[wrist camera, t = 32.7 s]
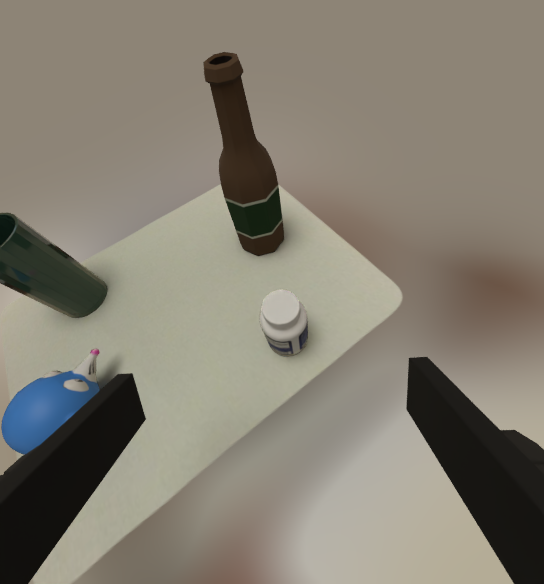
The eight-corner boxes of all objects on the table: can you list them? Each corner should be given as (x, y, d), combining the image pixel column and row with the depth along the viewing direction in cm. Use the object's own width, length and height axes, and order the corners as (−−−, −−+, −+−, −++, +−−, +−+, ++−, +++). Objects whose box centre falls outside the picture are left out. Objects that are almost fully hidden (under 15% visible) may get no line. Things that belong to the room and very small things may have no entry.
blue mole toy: (153, 369, 34) (112, 352, 27) (101, 470, 29) (32, 483, 22) (87, 345, 37) (33, 324, 30) (29, 433, 32) (-53, 433, 25)
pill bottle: (294, 312, 36) (290, 274, 27) (315, 343, 33) (318, 313, 25) (260, 330, 35) (246, 298, 27) (279, 364, 33) (270, 341, 24)
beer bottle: (268, 215, 46) (235, 33, 25) (294, 240, 42) (281, 53, 21) (231, 236, 44) (164, 62, 23) (255, 265, 41) (201, 89, 20)
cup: (66, 326, 39) (-53, 274, 26) (60, 292, 43) (-47, 232, 30) (111, 302, 41) (19, 240, 28) (102, 271, 44) (16, 203, 31)
